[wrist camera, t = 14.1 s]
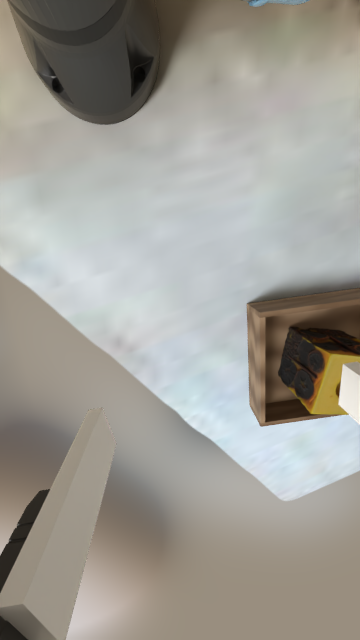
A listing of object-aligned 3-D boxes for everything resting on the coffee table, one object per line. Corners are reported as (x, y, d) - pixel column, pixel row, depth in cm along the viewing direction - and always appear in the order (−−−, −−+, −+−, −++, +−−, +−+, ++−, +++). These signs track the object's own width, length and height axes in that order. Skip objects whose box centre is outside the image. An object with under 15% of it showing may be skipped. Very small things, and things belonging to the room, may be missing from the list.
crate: (246, 303, 36) (260, 312, 31) (370, 286, 36) (404, 292, 31) (249, 405, 43) (260, 426, 38) (353, 390, 43) (378, 409, 38)
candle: (288, 325, 37) (329, 352, 27) (342, 328, 38) (400, 355, 28) (275, 375, 40) (308, 415, 31) (325, 377, 41) (373, 416, 31)
